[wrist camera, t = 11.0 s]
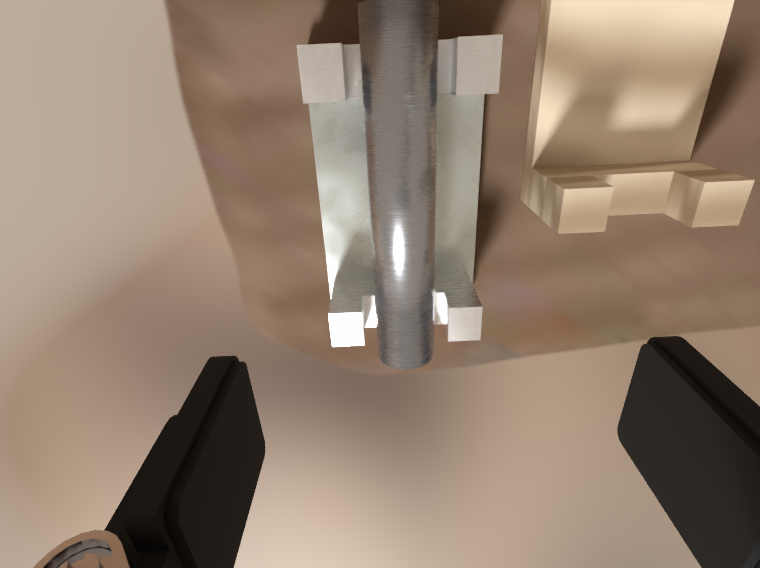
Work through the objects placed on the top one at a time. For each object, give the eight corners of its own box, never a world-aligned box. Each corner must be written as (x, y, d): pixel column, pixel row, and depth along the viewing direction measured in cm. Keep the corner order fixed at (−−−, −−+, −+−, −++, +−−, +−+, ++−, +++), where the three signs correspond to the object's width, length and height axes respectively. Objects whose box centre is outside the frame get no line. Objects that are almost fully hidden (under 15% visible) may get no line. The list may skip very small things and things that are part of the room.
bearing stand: (555, -126, 21) (623, -198, 15) (751, -137, 21) (894, -213, 15) (520, 199, 29) (557, 233, 23) (664, 192, 28) (738, 224, 23)
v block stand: (306, 49, 24) (287, 45, 19) (481, 40, 24) (511, 34, 19) (333, 299, 32) (325, 347, 27) (467, 293, 32) (486, 339, 26)
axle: (359, 9, 21) (354, -1, 17) (434, 5, 20) (443, -6, 17) (378, 336, 29) (377, 370, 26) (431, 335, 29) (436, 368, 26)
